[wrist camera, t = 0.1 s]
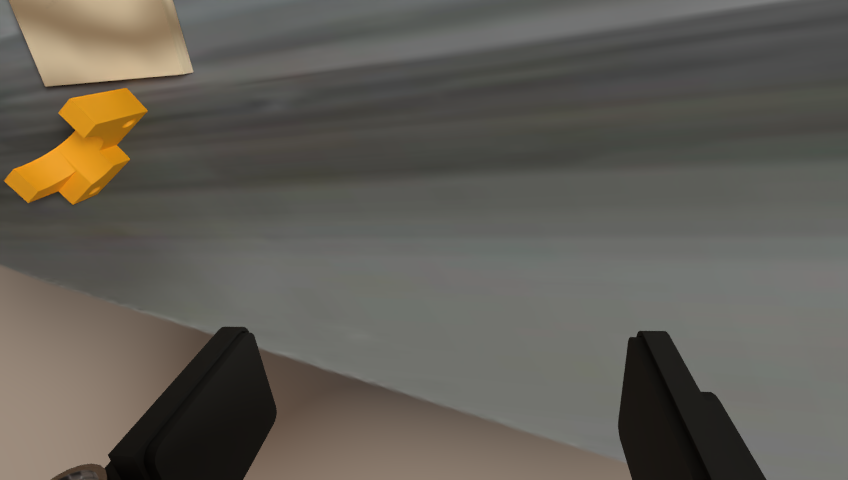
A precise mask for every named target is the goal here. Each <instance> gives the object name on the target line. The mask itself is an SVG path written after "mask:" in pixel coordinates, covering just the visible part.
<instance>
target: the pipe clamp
mask: <svg viewBox="0 0 848 480" xmlns="http://www.w3.org/2000/svg"><path fill="white" fill-rule="evenodd" d="M147 111H148V110H147V109H146V108H145V107H144V106H143V105H142V104H141V103H140V102H139V101H138V100H137V99H136V98H135V97H134V96H133V94H132V93H131V92H130V91H129V90H128V89H127V88H123V89H118V90H112V91H107V92H102V93H96V94H91V95H85V96H80V97H75V98H70V99H69V100H68V102H67V103H66V104H65V105H64V107H63V108H62V109H61V110H60V112H59V114H60V115H61V116H62V117H63V118H64V119H65V120H66V121H67V122H68V123H69V124H70V125H71V126H72V127H73V128H74V129H75V131H74V133H73V134H72V135H71V136H70V137H69V138H68V139H67V140H65V141H64V142H63V143H62V144H60V145H59V146H58V147H56V148H55V149H53V150H52V151H50V152H49V153H47V154H45V155H44V156H42V157H40V158H38V159H36V160H34V161H32V162H30V163H28V164H26V165H23V166H21V167H18V168H15V169H13V170H12V172H11V173H10V174H9V175H8V177H7V178H6V179H5V182H6V183H7V184H8V185H9V186H10V187H11V188H12V189H13V190H15V191H16V192H17V193H18V194H19V195H20V196H21V197H22V198H23V199H24V200H26V201H27V202H28V203H30V202H32V201H35V200H37V199H40V198H42V197H45V196H47V195H50V194H52V193H55V192H58V191H59V192H60V193H61V194H62V195H63V196H64V197H65V198H66V199H67V200H68V201H69V202H70V203H71V204H73V205H74V204H76V203H78V202H81V201H83V200H85V199H88V198H90V197H92V196H94V195H97V194H98V193H99V192H100V191H101V190H102V189H103V188H104V186H105V185H106V184H107V183H108V182H109V181H110V180H111V179H112V178H113V177H114V176H115V175H116V174H117V173H118V172H119V171H120V170H121V169H122V168H123V166H124V165H125V164H126V163H127V162H128V161H129V160H130V158H129V157H128V156H127V155H126V154H125V153H124V152H123V151H122V150H121V149H120V148H119V147H118V146H117V144H118V143H119V142H120V141H121V140H122V139H123V137H124V136H125V135H126V134H127V133H128V132H129V131H130V130H131V129H132V128H133V127H134V125H135V124H136V123H137V122H138V121H139V120H140V119H141V118H142V117H143V116H144V115H145V113H146V112H147Z"/></svg>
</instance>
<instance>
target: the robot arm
mask: <svg viewBox="0 0 848 480" xmlns="http://www.w3.org/2000/svg"><path fill="white" fill-rule="evenodd" d="M276 413H277V412H276V405H275V402H274V399H273V396H272V392H271V389H270V386H269V383H268V379H267V376H266V373H265V370H264V366H263V363H262V360H261V356H260V353H259V350H258V346H257V343H256V340H255V337H254V335H253V334H252V333H249V331H248V330H247V329H246V328H245V327H222V328H221V329H219V330H218V331H217V333H216V334H215V335H214V336H213V337H212V338H211V339H210V340H209V342H208V343H207V344H206V345H205V346H204V348H202V350H201V351H200V352H199V353H198V354H197V355H196V356H195V357H194V359H193V360H192V361H191V362H190V363H189V364H188V365H187V366H186V368H185V369H184V370H183V371H182V372H181V373H180V374H179V376H178V377H177V378H176V379H175V380H174V381H173V382H172V383H171V385H170V386H169V387H168V388H167V389H166V390H165V391H164V392H163V393H162V395H161V396H160V397H159V398H158V399H157V400H156V401H155V403H154V404H153V405H152V406H151V407H150V408H149V409H148V410H147V412H146V413H145V414H144V415H143V416H142V417H141V418H140V420H139V421H138V422H137V423H136V424H135V425H134V426H133V427H132V428H131V430H130V431H129V432H128V433H127V434H126V435H125V436H124V437H123V439H122V440H121V441H120V442H119V443H118V444H117V445H116V446H115V448H114V449H113V450H112V451H111V452H110V453H109V454H108V456H109V458H110V460H111V461H110V463H109V464H108V465H107V466H106V467H105V468H103V467H102V466H101V465H97V464H85V465H80V466H77V467H74V468H71V469H68V470H66V471H64V472H63V473H61V474H59V475H57V476H55V477H54V478H52V479H51V480H243V479H244V477H245V475H246V473H247V472H248V470H249V468H250V466H251V464H252V462H253V461H254V459H255V457H256V455H257V453H258V452H259V450H260V448H261V446H262V444H263V442H264V441H265V439H266V437H267V435H268V433H269V431H270V429H271V428H272V426H273V424H274V422H275V418H276ZM618 429H619V436H620V440H621V444H622V447H623V450H624V454H625V457H626V460H627V464H628V467H629V470H630V474H631V477H632V480H766V478H765V477H764V475H763V473H762V472H761V470H760V468H759V466H758V465H757V463H756V461H755V460H754V458H753V456H752V455H751V453H750V451H749V450H748V448H747V446H746V444H745V443H744V441H743V439H742V438H741V436H740V434H739V433H738V431H737V429H736V427H735V426H734V424H733V422H732V421H731V419H730V417H729V416H728V414H727V412H726V411H725V409H724V407H723V405H722V404H721V402H720V400H719V399H718V398H717V396H716V395H715V394H713V393H712V392H700V390H699V388H698V386H697V385H696V383H695V381H694V379H693V377H692V376H691V374H690V372H689V370H688V368H687V367H686V365H685V363H684V361H683V359H682V357H681V356H680V354H679V352H678V350H677V348H676V347H675V345H674V343H673V341H672V339H671V338H670V336H669V334H668V333H667V332H666V331H639V332H638V334H637V337H630V338H629V341H628V347H627V356H626V364H625V372H624V380H623V388H622V396H621V404H620V412H619V420H618Z"/></svg>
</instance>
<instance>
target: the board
mask: <svg viewBox="0 0 848 480" xmlns="http://www.w3.org/2000/svg"><path fill="white" fill-rule="evenodd" d="M9 2H10V4H11V6H12V9H13V11H14V14H15V16H16V18H17V21H18V23H19V25H20V28H21V30H22V32H23V35H24V37H25V40H26V42H27V44H28V47H29V49H30V51H31V54H32V56H33V58H34V61H35V63H36V66H37V68H38V70H39V73H40V75H41V77H42V80H43V82H44V84H45V87H46V86H57V85H68V84H79V83H91V82H102V81H113V80H124V79H136V78H147V77H158V76H169V75H180V74H187V73H193V69H192V66H191V62H190V59H189V55H188V52H187V48H186V45H185V41H184V38H183V34H182V31H181V27H180V24H179V20H178V17H177V13H176V10H175V6H174V3H173V0H9Z"/></svg>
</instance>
